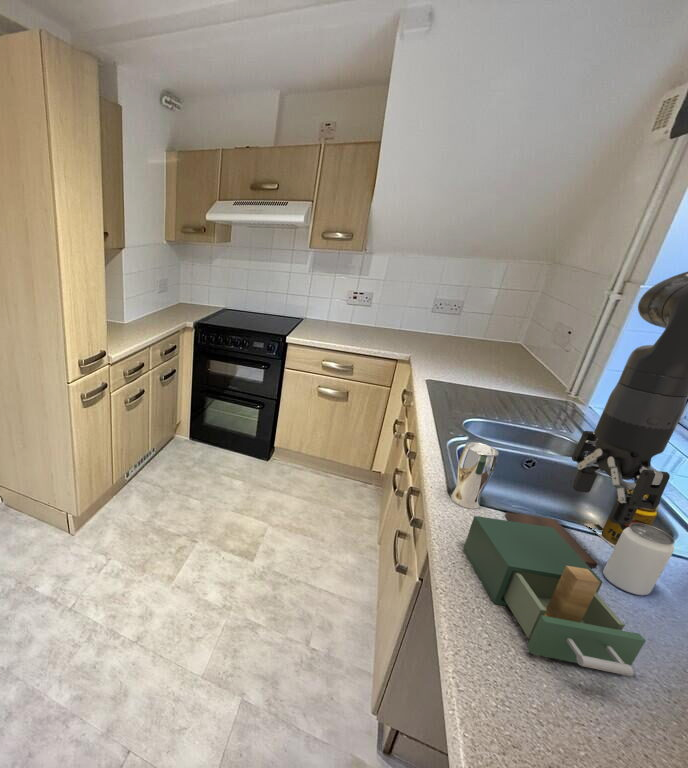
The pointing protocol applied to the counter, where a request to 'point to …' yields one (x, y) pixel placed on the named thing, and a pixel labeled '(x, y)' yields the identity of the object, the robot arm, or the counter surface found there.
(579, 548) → the thin wooden plank
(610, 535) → the condiment
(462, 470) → the beer glass
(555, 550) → the cabinet
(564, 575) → the wooden block
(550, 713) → the counter surface
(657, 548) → the can
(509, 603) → the drawer
